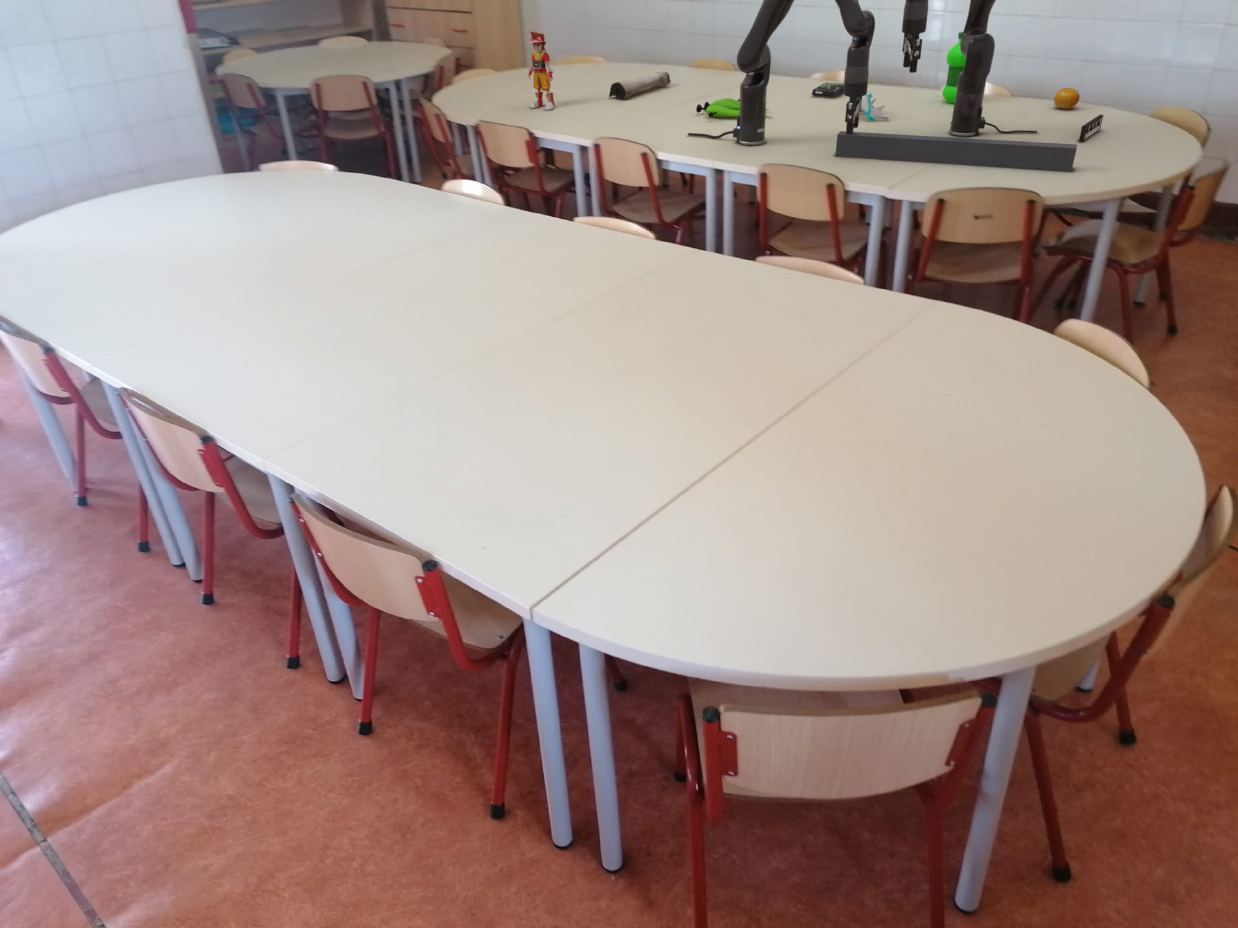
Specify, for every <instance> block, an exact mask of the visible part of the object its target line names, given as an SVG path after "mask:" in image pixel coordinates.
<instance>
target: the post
mask: <svg viewBox="0 0 1238 928" xmlns="http://www.w3.org/2000/svg"><path fill="white" fill-rule="evenodd" d="M835 145H836V146H835V157H842V158H843V157H844V158H860V159H873V160H886V161H887V160H889V161H903V162H916V163H917V162H918V163H919V162H920V163H932V164H934V163H936V164H949V165H950V164H951V165H965V166H978V167H980V166H981V167H996V168H1011V169H1023V170H1024V169H1025V170H1037V171H1038V170H1041V171H1052V172H1053V171H1054V172H1055V171H1056V172H1072V171H1073V166H1074V161H1075V158H1076V154H1077V149H1078V144H1077V143H1062V142H1061V143H1059V142H1041V141H1025V140H1022V141H1021V140H1007V139H1006V140H1005V139H990V138H969V137H955V136H954V137H953V136H951V137H950V136H936V135H917V134H899V133H884V132H883V133H882V132H881V133H879V132H864V131H863V132H862V131H853V134H852V135H847V134H846V130H845V131H844V130H840V131H839V132H838V133H837V134H836V144H835Z"/></svg>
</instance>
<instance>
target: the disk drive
mask: <svg viewBox="0 0 1238 928" xmlns="http://www.w3.org/2000/svg"><path fill="white" fill-rule="evenodd" d="M843 92H844V83H841V82H824V83H823V84H820V85H819V86H817V87H815V88H813V89H812V93H811V95H812V96H813V97H820V98H833V99H834V98H837V97H839V96H841V95H843Z"/></svg>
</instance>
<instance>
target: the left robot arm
mask: <svg viewBox="0 0 1238 928" xmlns="http://www.w3.org/2000/svg"><path fill="white" fill-rule="evenodd" d="M859 1H860V0H834V2H835V3H836V5H837V7H838V10H839V13H840V17H841V20H842V24H843V27H844V29H845V31H846V32H847V34H848V35H849V36H850V37H852V38H851V43H850V45H849V46H848V48H847V52H846V62H845V63H846V64H845V69H844V79H843V84H844V92H843V93H842V95H844V96H845V97H848V98H849V100H848V101H847V102H846V104H845V105H846V108H845V119H844V122H845V123H846V128H845V129H846V130H845V131H846V134H847V135H852V134H853V132H854V129H857V128H858V127H859V123H860V122H859V121H860V116H861V113H862V112H861V107H862V96H865V95H866V94H867V91H868V85H869V75H870V74H869V72H870V69H869V66H870V65H869V64H870V63H869V62H870V52H871V51H870V50H871V46H872V44H873V39H874V34H875V30H876V29H875V28H876V17H875V15H874V13H873V12H872V11H871V10H867V9H862V8H861V5H860V2H859ZM794 2H795V0H762V3H761V5H760V8H759V10H758V12H757V14H756V17H755V19H754V21H753V23H752V26H751V28H750V30H749V32H748V33H747V35H746V36H745V38H744V41H743V42H742V44H741V46H740V47H739V49H738V51H737V55H736V65H737V67H738V69H739V70H740V72H741V73H744V74H745V75H744V78H743V80H742V82H741V83H740V86H739V99H740V114H739V115H737V117H736V127H734V128H733V129H732V130H729V131H724V132H722V133H721V134H719V135H712V134H707V133H699V132H696V133H695V132H688V133H687V136H689V137H691V136H692V137H702V138H703V137H704V138H709V139H715V140H717V139H721V138H723V137H724V136H727V135H732V138H736V143H738V144H740V145H743V146H759V145H763V144H765V142H766V118H767V117H766V116H767V115H766V114H767V111H766V109H767V92H768V91H767V89H768V85H769V82H770V76H771V65H772V64H771V62H772V53H771V49H770V46H769V45H768V42H769V40H770V38H771V37H772V35H773V34H774V33H775V31H776V30H777V29H778V27H779V26H780V25H781V24H782V23H783V21H784V20H785V19H786V17H787V16H788V14H789V12H790V10H791V8H792V6H793V4H794Z"/></svg>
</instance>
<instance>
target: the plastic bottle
mask: <svg viewBox="0 0 1238 928" xmlns="http://www.w3.org/2000/svg"><path fill="white" fill-rule="evenodd" d="M962 35H963V31H959V32H958V36H957V39H958V42H957V43H956V44H954V45H953V46H952V47H951V48H950V49H949V50H948V52H947V54H946V63H947V64H948V69H947V70H948V71H947V76H946V77H947V78H946V84H945V85H944V87H943V90H942V97H943V99H944V100H945V101H946V102H947V103H948V104H954V103H955V96H956V90H957V83H958V77H959V74H960V73H961V72H962V71H963V70H964V66H965V61H966V57H964V56H963V55H962V53H961V50H960V42H961V38H962Z"/></svg>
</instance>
